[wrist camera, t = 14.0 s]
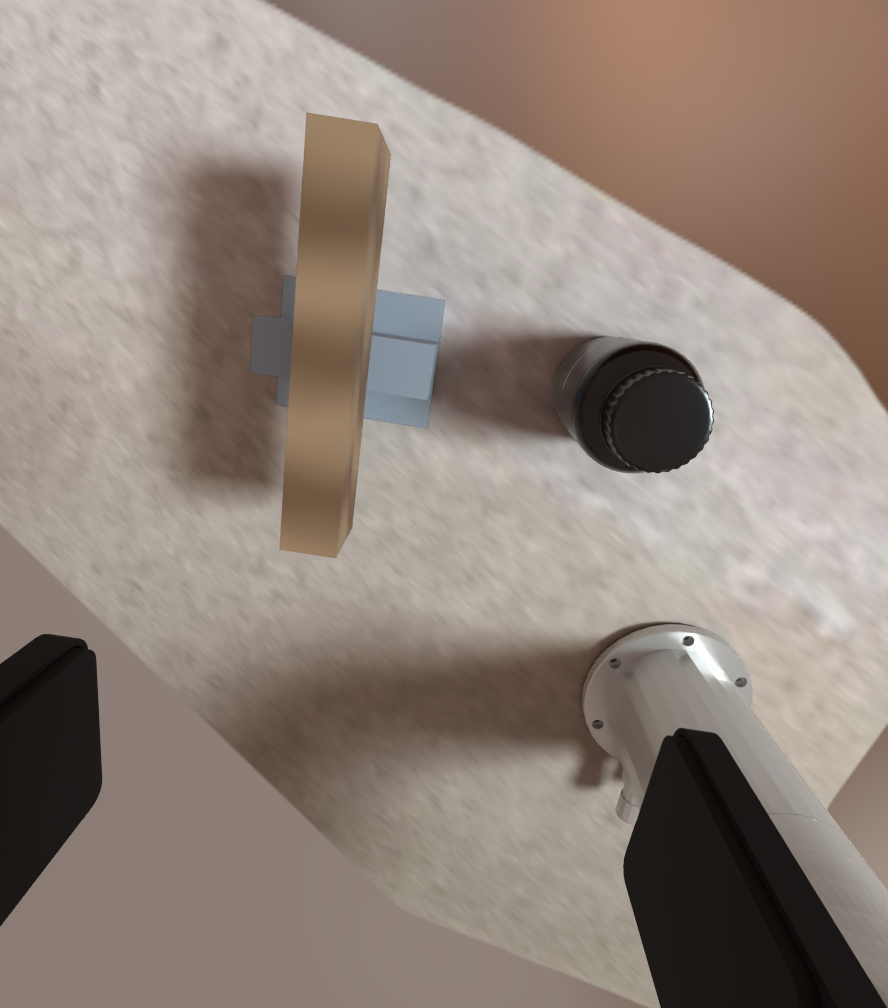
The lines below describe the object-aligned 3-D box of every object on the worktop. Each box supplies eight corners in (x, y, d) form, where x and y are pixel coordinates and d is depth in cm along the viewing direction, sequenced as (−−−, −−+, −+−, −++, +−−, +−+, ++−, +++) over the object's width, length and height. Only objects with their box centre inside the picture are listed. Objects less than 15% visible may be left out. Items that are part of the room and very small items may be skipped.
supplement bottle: (552, 336, 36) (592, 343, 25) (660, 335, 36) (752, 341, 24) (547, 442, 38) (582, 494, 27) (649, 442, 38) (729, 493, 26)
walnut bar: (351, 528, 34) (336, 558, 30) (302, 521, 34) (279, 549, 30) (390, 154, 28) (377, 123, 24) (330, 144, 28) (306, 112, 24)
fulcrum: (427, 425, 38) (421, 443, 32) (280, 402, 38) (248, 417, 32) (445, 300, 36) (441, 296, 30) (288, 276, 35) (254, 267, 30)
